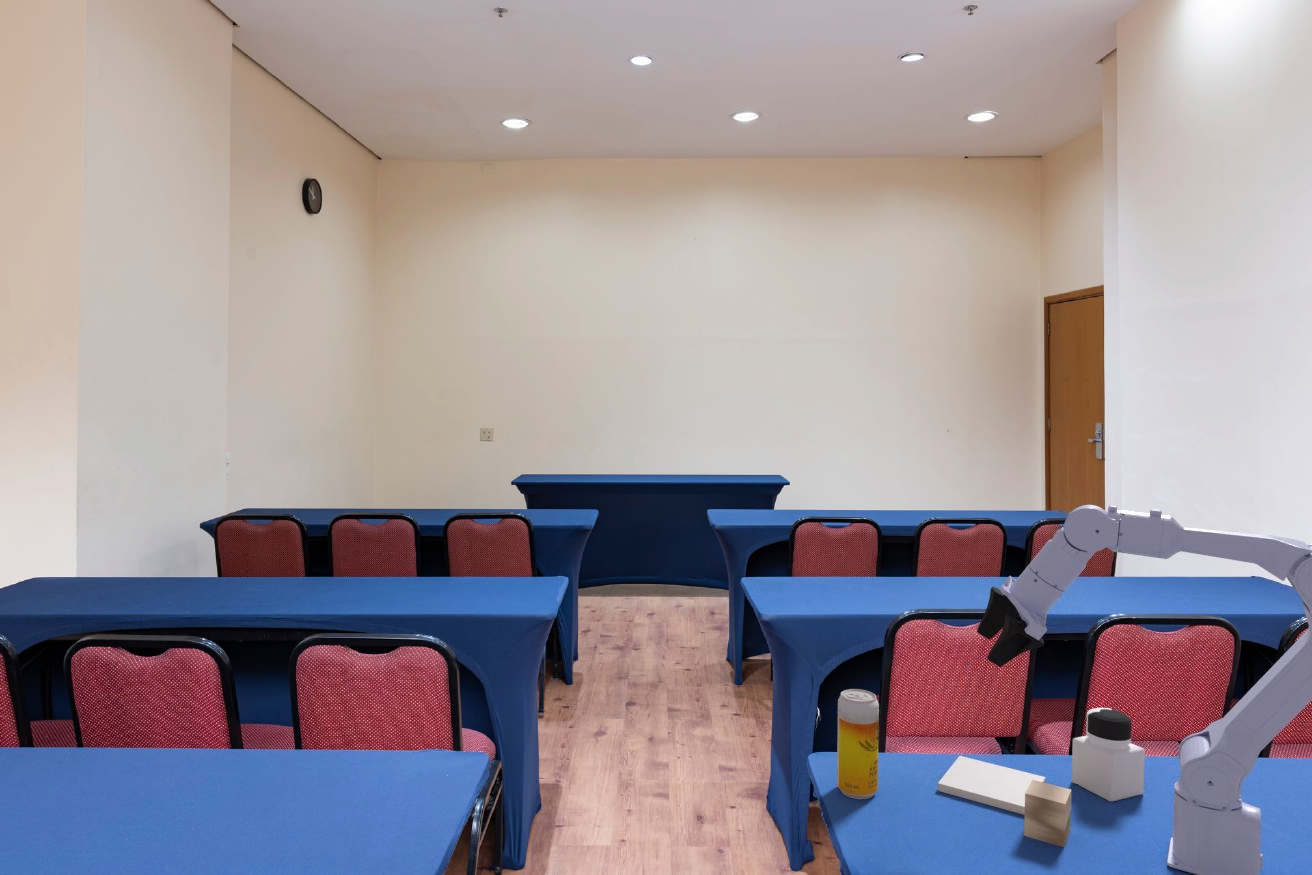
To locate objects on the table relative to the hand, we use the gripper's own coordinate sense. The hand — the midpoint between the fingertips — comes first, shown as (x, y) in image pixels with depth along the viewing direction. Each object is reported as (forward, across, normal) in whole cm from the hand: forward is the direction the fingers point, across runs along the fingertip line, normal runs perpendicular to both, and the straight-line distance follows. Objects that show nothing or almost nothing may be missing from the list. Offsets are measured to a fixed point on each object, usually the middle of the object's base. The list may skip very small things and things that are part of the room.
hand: (988, 648), depth 117 cm
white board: (+20, -1, +15) cm, 25 cm away
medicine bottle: (+12, -4, +30) cm, 33 cm away
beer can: (+30, +4, -3) cm, 30 cm away
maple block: (+15, +11, +17) cm, 26 cm away
